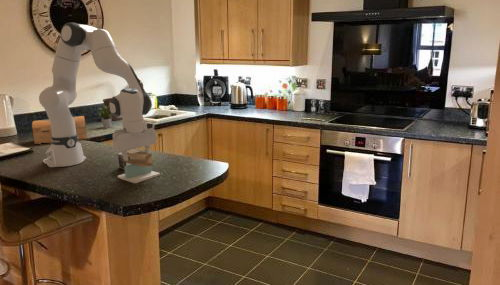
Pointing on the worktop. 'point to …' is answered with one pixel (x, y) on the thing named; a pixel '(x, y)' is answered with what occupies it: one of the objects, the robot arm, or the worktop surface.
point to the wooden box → (44, 132)
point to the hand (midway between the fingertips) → (137, 157)
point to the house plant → (105, 117)
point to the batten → (139, 158)
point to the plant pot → (106, 103)
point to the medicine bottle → (121, 163)
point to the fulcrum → (137, 173)
